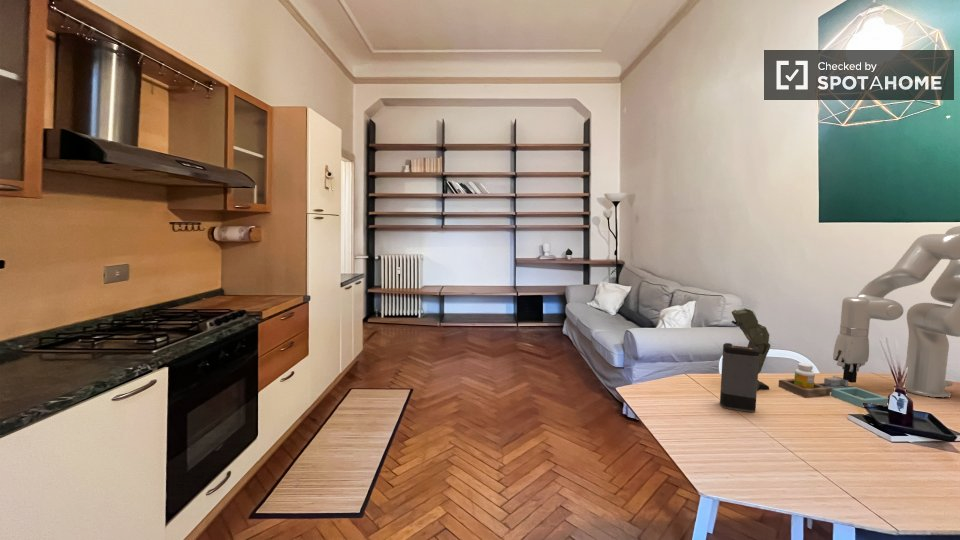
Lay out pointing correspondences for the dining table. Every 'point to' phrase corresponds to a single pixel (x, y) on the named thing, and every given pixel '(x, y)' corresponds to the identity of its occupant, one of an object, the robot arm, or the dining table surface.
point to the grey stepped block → (835, 382)
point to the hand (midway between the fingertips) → (849, 381)
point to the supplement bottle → (804, 376)
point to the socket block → (803, 392)
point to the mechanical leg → (753, 336)
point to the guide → (833, 387)
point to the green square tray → (853, 392)
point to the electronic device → (739, 377)
